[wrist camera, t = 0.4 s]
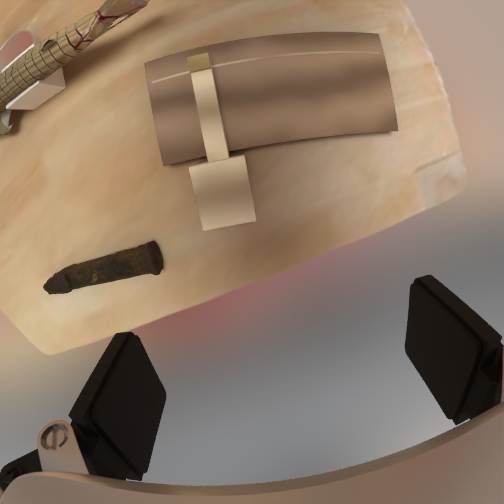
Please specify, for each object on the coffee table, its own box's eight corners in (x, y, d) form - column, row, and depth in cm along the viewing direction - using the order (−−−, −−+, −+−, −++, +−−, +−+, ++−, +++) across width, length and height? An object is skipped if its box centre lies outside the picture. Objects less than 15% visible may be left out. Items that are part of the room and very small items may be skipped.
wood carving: (189, 39, 26) (165, -1, 16) (-12, 157, 29) (-62, 170, 18) (172, -13, 23) (147, -59, 12) (-20, 110, 26) (-69, 114, 15)
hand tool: (158, 235, 35) (146, 248, 30) (166, 265, 36) (156, 282, 32) (47, 260, 35) (30, 273, 31) (57, 284, 37) (41, 299, 33)
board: (151, 68, 27) (144, 63, 25) (370, 39, 26) (378, 33, 23) (169, 164, 31) (163, 166, 29) (388, 131, 30) (398, 131, 28)
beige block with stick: (182, 71, 27) (167, 55, 21) (226, 61, 27) (221, 42, 21) (211, 213, 34) (203, 231, 27) (254, 205, 33) (256, 221, 27)
